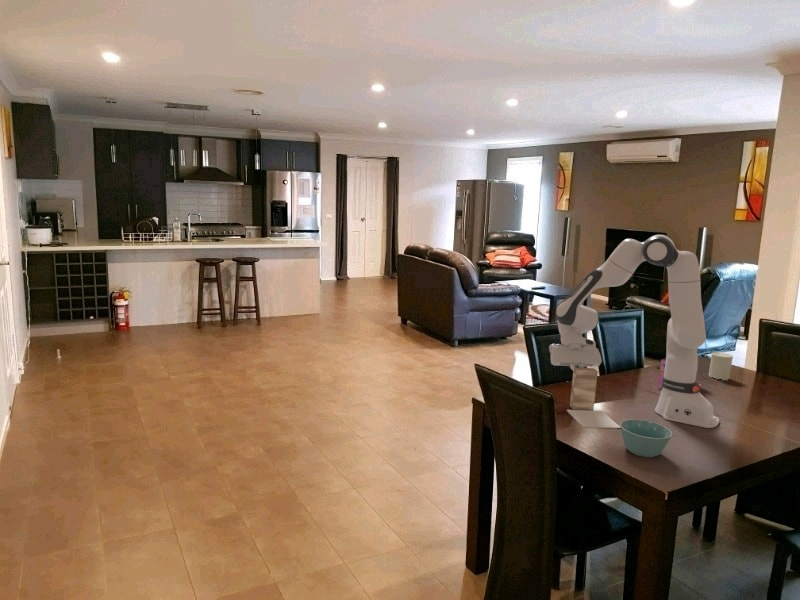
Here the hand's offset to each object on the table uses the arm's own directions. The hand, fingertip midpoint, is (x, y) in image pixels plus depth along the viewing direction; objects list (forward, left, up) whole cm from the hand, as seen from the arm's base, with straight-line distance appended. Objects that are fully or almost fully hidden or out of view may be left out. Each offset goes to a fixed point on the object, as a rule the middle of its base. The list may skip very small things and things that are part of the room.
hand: (578, 374), depth 235 cm
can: (-31, -92, -12) cm, 98 cm away
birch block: (-4, +4, -12) cm, 13 cm away
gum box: (-22, -59, -12) cm, 64 cm away
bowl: (-36, +28, -12) cm, 48 cm away
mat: (-12, +12, -12) cm, 21 cm away
